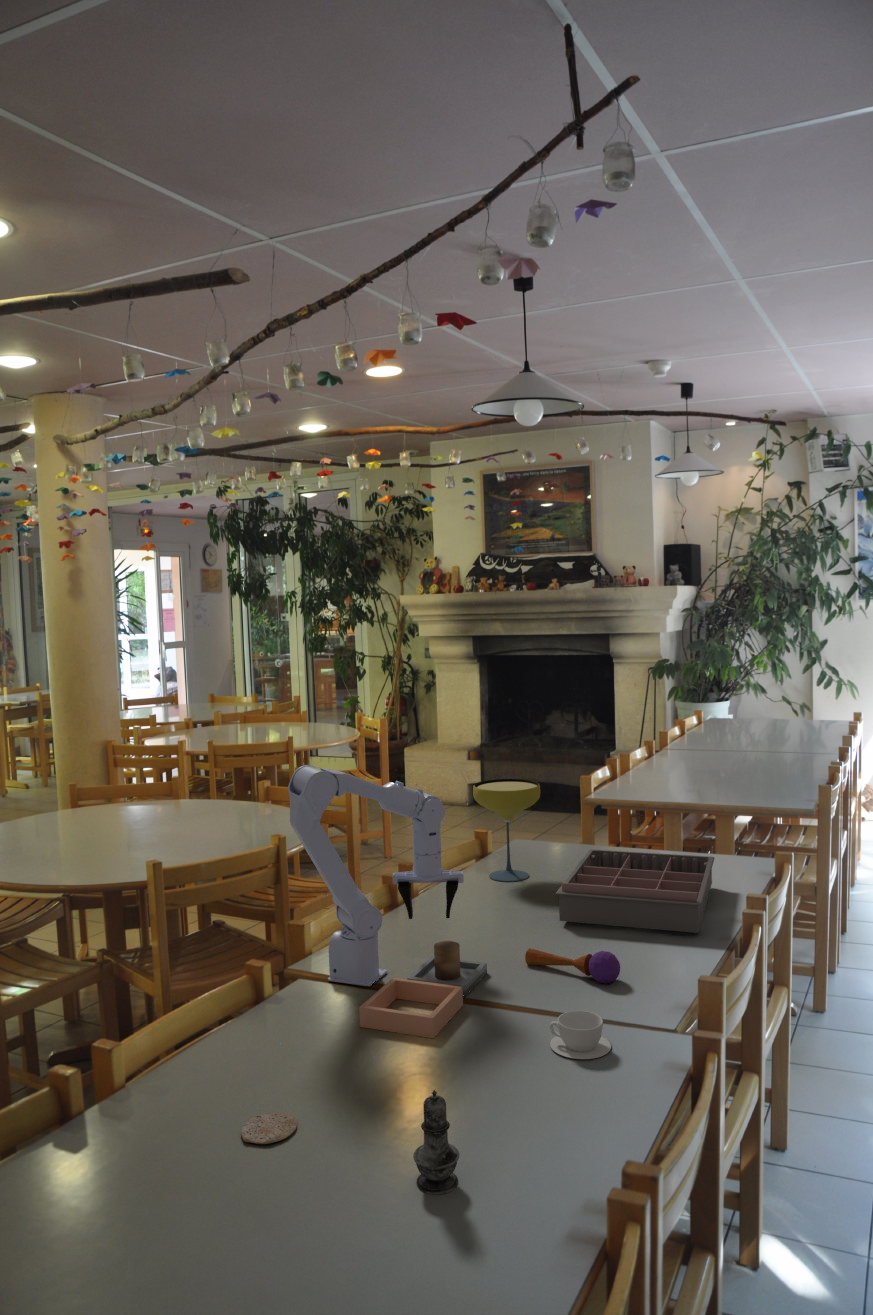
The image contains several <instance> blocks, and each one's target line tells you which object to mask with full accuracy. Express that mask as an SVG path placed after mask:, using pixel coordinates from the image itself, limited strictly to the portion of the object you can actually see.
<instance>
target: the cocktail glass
mask: <svg viewBox="0 0 873 1315" xmlns="http://www.w3.org/2000/svg"><path fill="white" fill-rule="evenodd" d="M472 794H473V796H472V797H473V799H474V800H475V802H477V804H478V805H480V806H481V807H483V808H485V809H487V810H489V811H491V812H494V813H495V814H496V815H498V816H499V817H500V819H501V820H503V822H505V823H506V868H505V869H500V870H495V871H492V872H491V873H489V874H488V876H489V878H490V879H491V880H493V881H497V882H501V883H502V882H505V883H512V882H513V883H515V882H521V881H525V880H527V879H528V878H530V874H529V873H528V872H526V871H523V870H519V869H512V863H511V855H510V854H511V853H510V851H511V850H510V849H511V848H510V827H509V826H510V824H509V823H510V822H512V820H513V819H514V818H515V817H516V816H517V815H518V814H519V813H520V812H523V811H524V810H527V809H528V808H530V807H532V806H533V805H535V804H536V802H538V801H539V799H540V798H541V786H540V783H539V782H537V781H535V780H530V779H523V778H522V779H521V778H520V779H519V778H496V779H495V778H494V779H487V780H482V781H478V782H476V783H474V785H473V789H472Z"/></svg>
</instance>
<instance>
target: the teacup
mask: <svg viewBox="0 0 873 1315" xmlns="http://www.w3.org/2000/svg"><path fill="white" fill-rule="evenodd" d="M554 1026H555V1027H556V1028H557V1029H558V1031H559V1032H558V1031H556V1030H555V1029H554ZM603 1026H604V1020H603V1018H602V1017H601V1015H599V1014H597V1013H595V1012H591V1011H588V1010H570V1011H566V1012H563V1013H562V1014H560V1015H559V1016H558V1017H557V1020H553V1021H551V1022H550V1024H549V1030H550V1032H551V1034H552V1036H554V1037H553V1038H552V1039H551V1040H550V1043H549V1046H550V1048H551V1050H552V1051H553V1052H555V1053H556V1054H558V1055H560V1056H563V1057H566V1058H570V1059H574V1060H575V1059H576V1060H591V1059H596V1058H600V1057H603V1056H605V1055H607V1054H609V1053H610V1051H611V1049H612V1043H611V1042H610V1040H608V1038H606V1037H604V1036H603V1034H602V1033H603Z"/></svg>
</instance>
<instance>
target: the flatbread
mask: <svg viewBox="0 0 873 1315" xmlns="http://www.w3.org/2000/svg"><path fill="white" fill-rule="evenodd" d="M297 1128H298V1121H297V1119H296V1117H293V1116H291V1115H288V1114H285V1113H282V1112H273V1113H267V1114H266V1113H264V1114H261V1115H257V1116H254V1117H252V1118H251V1119H250V1120H249V1121H248V1122H246V1123H245V1124H244V1125H243V1127H242V1128H241V1131H240V1135H241V1138H242V1140H243V1141H244V1142H245V1143H252V1144H257V1145H269V1144H273V1143H276V1142H280V1141H281V1142H282V1141H283V1140H285V1139H287V1138H289V1137H290V1136H291V1135H292V1134H293V1133H295V1131H296V1130H297Z"/></svg>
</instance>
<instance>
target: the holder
mask: <svg viewBox="0 0 873 1315" xmlns="http://www.w3.org/2000/svg"><path fill="white" fill-rule="evenodd" d="M463 998H464V996H463V989H462V987H460V986H453V985H445V984H438V983H430V982H423V981H415V980H407V978H399V977H392V978H391V979H390V980H389V981H387V982H386V983H385V984H384V985H383V986H381V987H380V989H378V990H377V991H376V992H375V993H374V994H373V995H372V996H371V997H369V998H368V999H367V1000H365V1002H364V1003H362V1004H361V1005H360V1006H359V1008H358V1011H359V1013H358V1014H359V1027H360V1028H365V1029H373V1030H376V1031H377V1030H378V1031H384V1032H390V1033H396V1032H397V1034H403V1035H404V1034H405V1035H410V1036H416V1037H422V1038H427V1039H428V1038H430V1039H434V1038H435V1037H437V1035H438V1034H439V1033H440V1032H441V1031H442V1029H444V1028H445V1026H446V1025H447V1024H448V1021H449V1020H450V1021H451V1020H452V1018H453V1017H454V1016H456V1014H457V1013H458V1012H459V1011H460V1009H462V1007H463V1006H464V1001H463V1000H464V999H463ZM395 1000H404V1001H411V1002H420V1003H425V1004H426V1003H427V1004H431V1005H432V1004H433V1005H438V1004H439V1005H438V1006H436V1008H435V1009H434V1010H433V1011H432V1012H431V1013H430V1014H426V1013H419V1012H413V1011H412V1012H410V1011H405V1010H399V1009H393V1008H388V1007H389V1006H390V1005H391V1004H392V1003H393V1002H394V1001H395ZM461 1006H462V1007H461ZM458 1010H459V1011H458ZM457 1011H458V1012H457ZM456 1012H457V1013H456ZM455 1013H456V1014H455ZM450 1021H449V1022H450ZM440 1030H441V1031H440Z"/></svg>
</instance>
